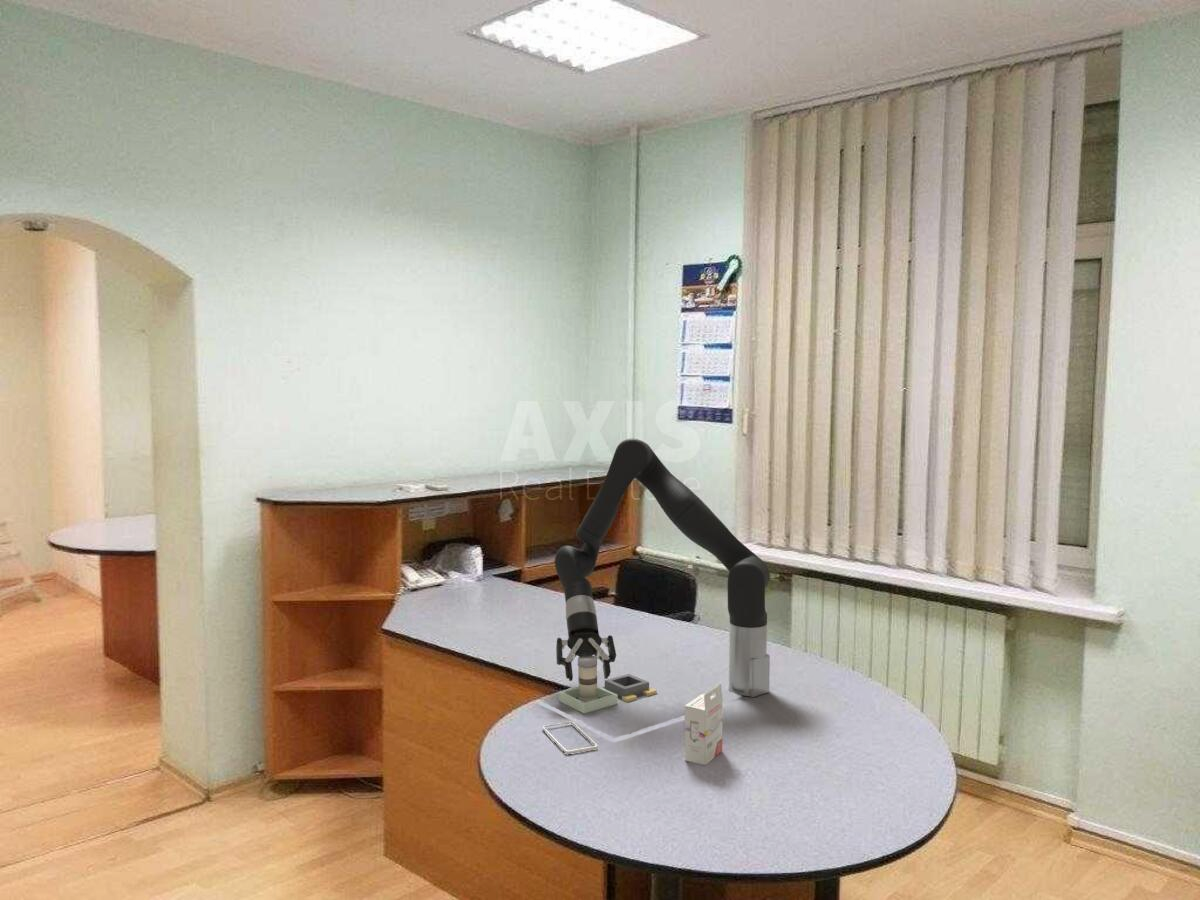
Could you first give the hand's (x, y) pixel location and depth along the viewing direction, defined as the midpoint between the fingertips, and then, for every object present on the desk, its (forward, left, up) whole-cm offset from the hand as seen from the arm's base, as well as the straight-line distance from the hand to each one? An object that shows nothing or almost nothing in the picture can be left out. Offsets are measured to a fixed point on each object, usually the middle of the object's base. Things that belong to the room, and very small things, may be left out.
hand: (588, 678), depth 211 cm
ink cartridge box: (-36, -3, -8) cm, 37 cm away
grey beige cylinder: (+1, -1, -7) cm, 7 cm away
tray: (+1, -1, -7) cm, 7 cm away
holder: (+1, -13, -7) cm, 15 cm away
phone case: (-12, +14, -8) cm, 20 cm away
